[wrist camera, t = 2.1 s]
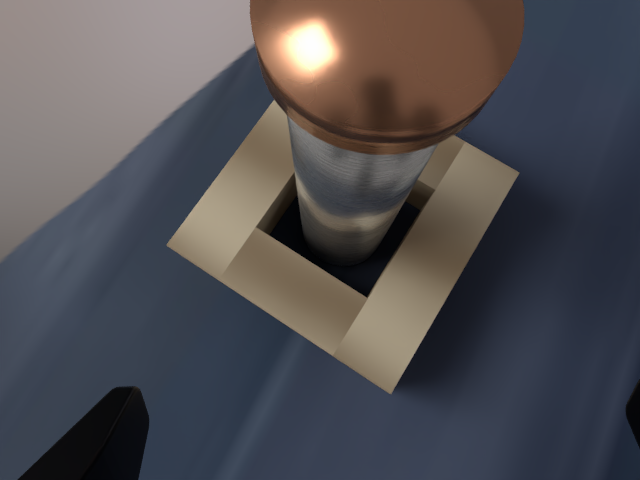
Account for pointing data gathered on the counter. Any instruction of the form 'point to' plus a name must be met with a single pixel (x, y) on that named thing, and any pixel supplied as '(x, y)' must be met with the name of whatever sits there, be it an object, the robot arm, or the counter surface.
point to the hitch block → (319, 286)
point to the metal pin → (375, 100)
